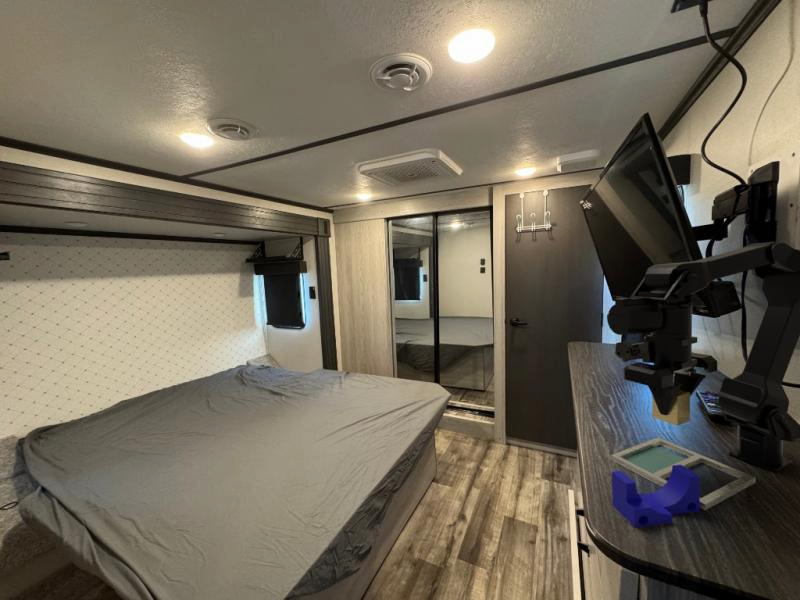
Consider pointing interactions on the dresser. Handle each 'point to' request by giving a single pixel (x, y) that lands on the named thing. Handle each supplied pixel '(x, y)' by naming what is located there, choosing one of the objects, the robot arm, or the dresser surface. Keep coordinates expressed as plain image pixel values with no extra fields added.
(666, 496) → the cable clip
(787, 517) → the dresser surface
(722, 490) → the grey divided frame
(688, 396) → the yellow rectangular block
